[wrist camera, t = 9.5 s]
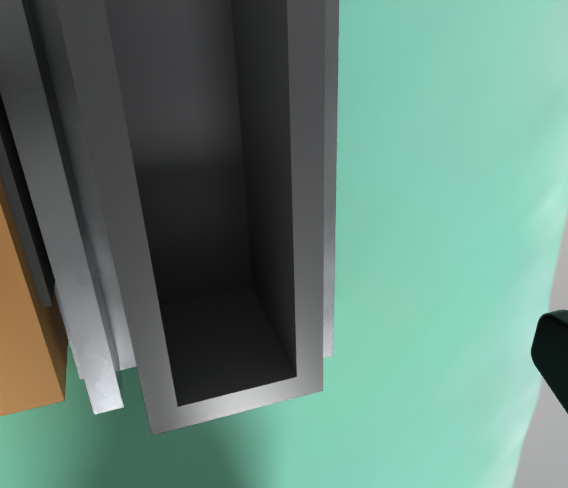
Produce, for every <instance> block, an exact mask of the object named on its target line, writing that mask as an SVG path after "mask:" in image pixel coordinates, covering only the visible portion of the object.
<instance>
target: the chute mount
mask: <svg viewBox="0 0 568 488" xmlns="http://www.w3.org/2000/svg"><path fill="white" fill-rule="evenodd" d="M338 36H339V0H325V122H324V298H323V358H325V357H329V356H333V336H334V276H335V216H336V156H337V96H338ZM0 93H1V96H2V100H3V103H4V107H5V110H6V113H7V117H8V120H9V124H10V127H11V131H12V134H13V137H14V141H15V144H16V148H17V151H18V155H19V158H20V161H21V165H22V168H23V172H24V175H25V179H26V182H27V185H28V189H29V192H30V196H31V199H32V203H33V206H34V209H35V213H36V216H37V220H38V223H39V227H40V230H41V233H42V237H43V240H44V244H45V247H46V251H47V254H48V257H49V261H50V264H51V268H52V271H53V275H54V278H55V285H54V293H55V296H56V300H57V303H58V307H59V310H60V313H61V317H62V320H63V323H64V327H65V330H66V334H67V337H68V340H69V344H70V347H71V350H72V354H73V357H74V360H75V364H76V367H77V371H78V374H79V377H80V380H81V379H84V381H85V384H86V388H87V391H88V395H89V398H90V401H91V405H92V408H93V412H94V415H95V414H99V413H103V412H107V411H111V410H115V409H119V408H123V407H124V405H123V392H122V378H121V370H124V369H128V368H133V367H137V366H136V361H135V357H134V352H133V347H132V343H131V338H130V334H129V329H128V325H127V320H126V316H125V311H124V307H123V302H122V298H121V293H120V289H119V284H118V280H117V275H116V271H115V266H114V262H113V257H112V253H111V248H110V244H109V239H108V235H107V230H106V226H105V221H104V217H103V212H102V208H101V203H100V198H99V194H98V189H97V185H96V180H95V176H94V171H93V167H92V162H91V158H90V153H89V149H88V144H87V140H86V135H85V131H84V126H83V122H82V117H81V113H80V108H79V104H78V99H77V95H76V90H75V86H74V81H73V77H72V72H71V68H70V63H69V59H68V54H67V49H66V45H65V40H64V36H63V31H62V27H61V22H60V18H59V13H58V9H57V4H56V0H0Z"/></svg>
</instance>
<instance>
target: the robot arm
mask: <svg viewBox="0 0 568 488" xmlns="http://www.w3.org/2000/svg"><path fill="white" fill-rule="evenodd" d="M531 357H532V360H533V362H534V364H535V366H536V368H537V369H538V370H539V372H540V373H541V375H542V376H543V378H544V379H545V381H546V382H547V384H548V385H549V387H550V388H551V390H552V391H553V393H554V394H555V396H556V397H557V399H558V400H559V402H560V403H561V404H562V406H563V408H564V409H565V410H566V412H567V413H568V310H557V311H553V312H549V313H546V314H543V315H542V316H541V317H540V318H539V321H538V324H537V328H536V332H535V336H534V339H533V343H532V347H531Z"/></svg>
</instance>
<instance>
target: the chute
mask: <svg viewBox="0 0 568 488" xmlns="http://www.w3.org/2000/svg"><path fill="white" fill-rule="evenodd" d="M56 4H57V9H58V13H59V18H60V22H61V27H62V31H63V36H64V40H65V45H66V49H67V54H68V59H69V63H70V68H71V72H72V77H73V81H74V86H75V90H76V95H77V99H78V104H79V108H80V113H81V117H82V122H83V126H84V131H85V135H86V140H87V144H88V149H89V153H90V158H91V162H92V167H93V171H94V176H95V180H96V185H97V189H98V194H99V198H100V203H101V208H102V212H103V217H104V221H105V226H106V230H107V235H108V239H109V244H110V248H111V253H112V257H113V262H114V266H115V271H116V275H117V280H118V284H119V289H120V293H121V298H122V302H123V307H124V311H125V316H126V320H127V325H128V329H129V334H130V338H131V343H132V347H133V352H134V357H135V361H136V366H137V370H138V375H139V379H140V384H141V388H142V393H143V397H144V402H145V406H146V411H147V415H148V420H149V424H150V429H151V433H152V435H156V434H160V433H164V432H168V431H171V430H175V429H179V428H183V427H187V426H190V425H194V424H198V423H202V422H206V421H209V420H213V419H217V418H221V417H225V416H228V415H232V414H236V413H240V412H244V411H247V410H251V409H255V408H259V407H263V406H266V405H270V404H274V403H278V402H282V401H285V400H289V399H293V398H297V397H301V396H304V395H308V394H312V393H316V392H320V391H323V298H324V122H325V0H56Z"/></svg>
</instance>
